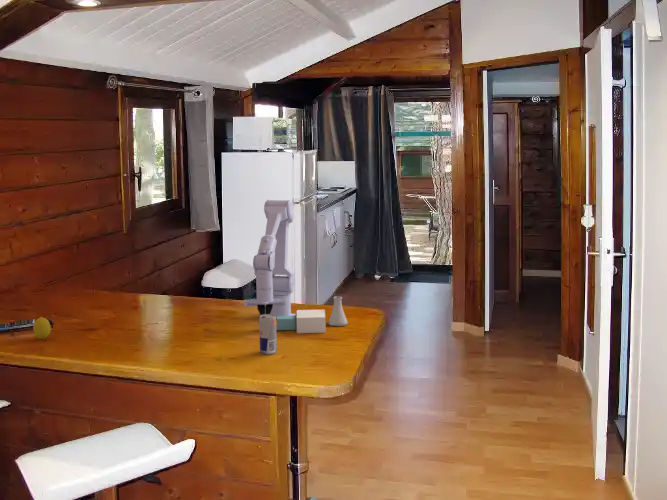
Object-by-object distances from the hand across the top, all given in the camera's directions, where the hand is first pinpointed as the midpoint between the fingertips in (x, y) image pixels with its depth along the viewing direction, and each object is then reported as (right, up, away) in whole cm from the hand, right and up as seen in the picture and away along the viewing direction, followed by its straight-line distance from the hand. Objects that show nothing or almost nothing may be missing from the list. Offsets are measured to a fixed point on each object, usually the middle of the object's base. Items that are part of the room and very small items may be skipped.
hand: (265, 325), depth 266 cm
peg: (+8, -1, 0) cm, 8 cm away
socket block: (+16, -1, +1) cm, 16 cm away
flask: (+26, 0, +6) cm, 26 cm away
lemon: (-76, -4, -8) cm, 76 cm away
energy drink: (+3, -6, -26) cm, 27 cm away
